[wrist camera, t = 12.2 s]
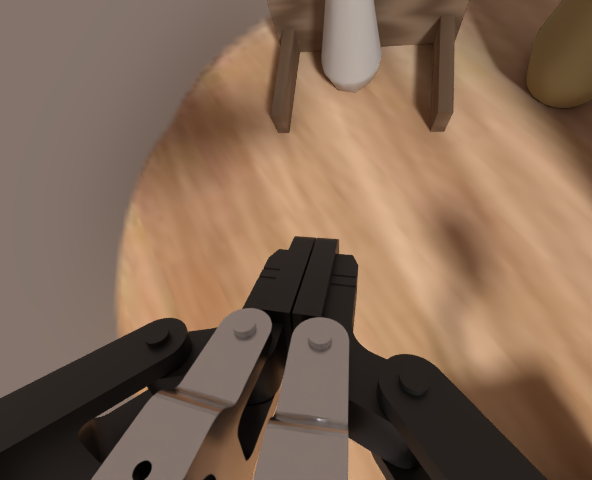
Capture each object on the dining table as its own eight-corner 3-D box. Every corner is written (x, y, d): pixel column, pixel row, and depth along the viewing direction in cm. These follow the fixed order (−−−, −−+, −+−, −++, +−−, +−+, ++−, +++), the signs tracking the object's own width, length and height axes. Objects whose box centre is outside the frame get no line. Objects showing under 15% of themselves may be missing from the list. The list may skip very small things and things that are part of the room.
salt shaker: (320, 60, 33) (298, -88, 21) (373, 46, 33) (383, -118, 20) (328, 105, 32) (310, -26, 20) (384, 92, 31) (401, -55, 19)
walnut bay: (454, 31, 31) (476, -32, 25) (453, 131, 29) (476, 87, 23) (284, 44, 35) (269, -8, 29) (271, 132, 33) (252, 95, 27)
